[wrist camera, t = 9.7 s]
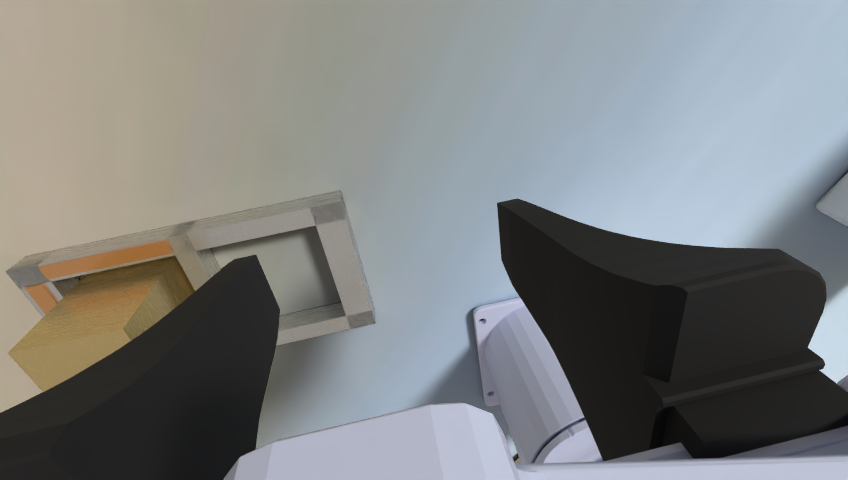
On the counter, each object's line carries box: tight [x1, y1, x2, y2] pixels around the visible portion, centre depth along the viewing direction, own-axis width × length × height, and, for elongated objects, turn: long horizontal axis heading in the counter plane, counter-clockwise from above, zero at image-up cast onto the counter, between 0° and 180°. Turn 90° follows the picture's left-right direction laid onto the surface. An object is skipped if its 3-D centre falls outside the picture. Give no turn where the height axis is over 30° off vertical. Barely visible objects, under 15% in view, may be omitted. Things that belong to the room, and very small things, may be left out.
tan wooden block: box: [8, 256, 195, 392], centre depth 20 cm, size 4×4×6 cm
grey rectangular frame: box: [6, 191, 375, 346], centre depth 22 cm, size 8×16×2 cm, turn 99°
